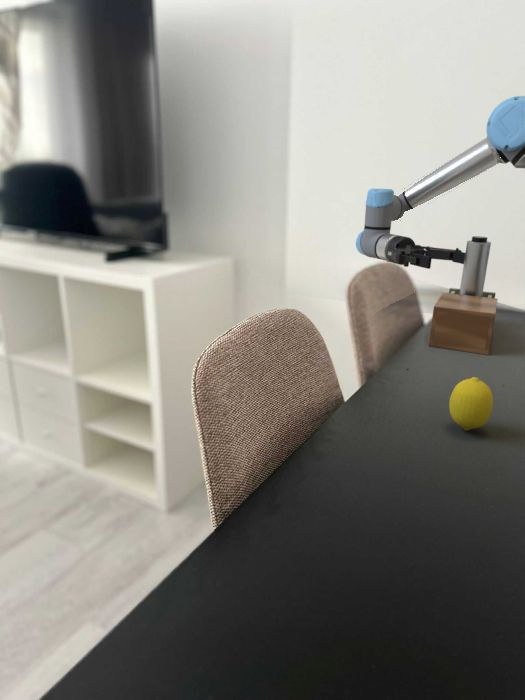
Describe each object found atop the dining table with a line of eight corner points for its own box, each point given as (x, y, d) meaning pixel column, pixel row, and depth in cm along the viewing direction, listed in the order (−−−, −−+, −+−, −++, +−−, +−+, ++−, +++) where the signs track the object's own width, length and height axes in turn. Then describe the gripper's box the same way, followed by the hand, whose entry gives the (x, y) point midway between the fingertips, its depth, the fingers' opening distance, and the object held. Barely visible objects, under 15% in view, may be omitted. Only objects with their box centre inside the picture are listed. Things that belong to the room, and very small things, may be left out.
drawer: (446, 313, 130) (450, 286, 128) (491, 318, 126) (495, 291, 124) (439, 327, 117) (443, 298, 115) (488, 334, 113) (493, 304, 111)
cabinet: (437, 328, 120) (442, 292, 117) (491, 335, 115) (497, 298, 112) (428, 346, 107) (433, 306, 104) (488, 355, 103) (495, 313, 100)
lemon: (438, 429, 72) (446, 376, 69) (456, 417, 76) (464, 367, 73) (477, 444, 68) (487, 389, 66) (494, 430, 72) (504, 378, 69)
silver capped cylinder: (466, 315, 124) (479, 235, 118) (483, 320, 120) (496, 238, 113) (451, 317, 122) (463, 236, 116) (466, 322, 118) (480, 238, 112)
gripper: (430, 260, 147) (488, 274, 129) (357, 265, 138) (408, 280, 119) (433, 234, 145) (493, 244, 127) (359, 236, 135) (412, 247, 117)
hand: (452, 261), depth 123 cm, fingers open, 13 cm apart
